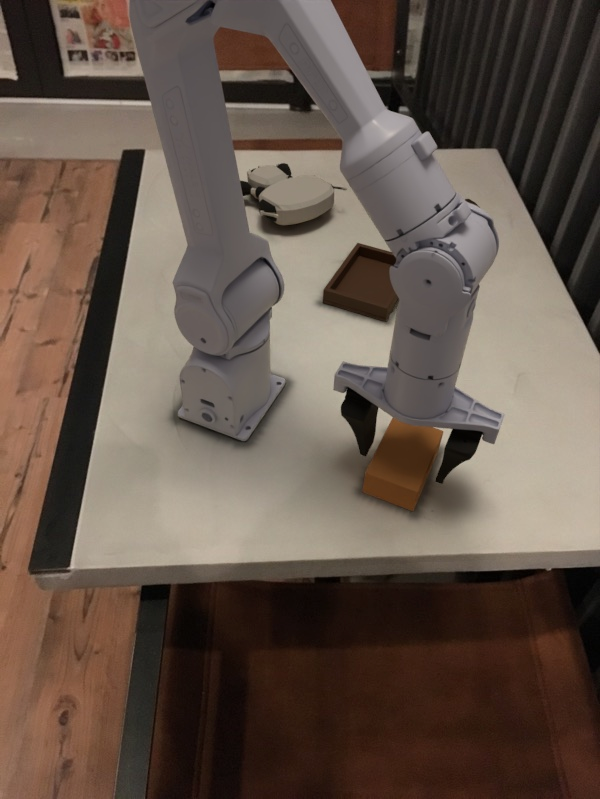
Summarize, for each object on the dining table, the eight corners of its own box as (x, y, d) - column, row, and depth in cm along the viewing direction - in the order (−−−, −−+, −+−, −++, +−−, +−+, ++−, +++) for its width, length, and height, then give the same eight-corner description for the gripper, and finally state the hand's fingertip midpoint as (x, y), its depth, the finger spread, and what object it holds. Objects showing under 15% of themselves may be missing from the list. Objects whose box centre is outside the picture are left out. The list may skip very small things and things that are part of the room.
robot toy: (218, 204, 100) (280, 244, 91) (215, 174, 97) (279, 212, 88) (285, 179, 105) (349, 214, 97) (284, 150, 102) (350, 184, 94)
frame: (385, 321, 81) (387, 308, 80) (322, 302, 83) (323, 289, 82) (415, 271, 88) (417, 258, 87) (356, 255, 90) (357, 242, 89)
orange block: (413, 511, 62) (417, 492, 60) (362, 492, 64) (364, 472, 62) (438, 450, 67) (443, 430, 65) (390, 433, 69) (394, 413, 67)
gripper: (526, 352, 55) (489, 457, 65) (359, 302, 59) (348, 409, 69) (506, 409, 51) (469, 513, 61) (327, 351, 55) (320, 458, 65)
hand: (403, 461), depth 65 cm, fingers open, 7 cm apart
